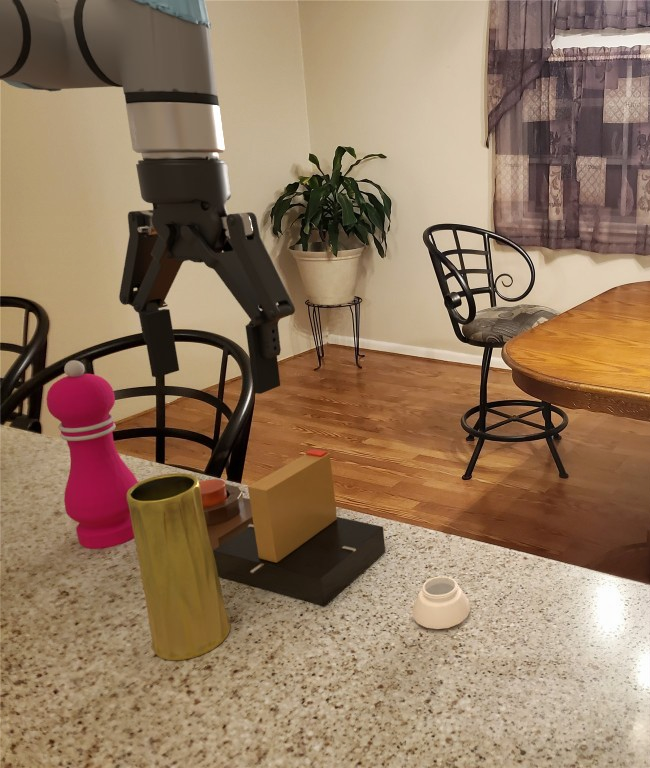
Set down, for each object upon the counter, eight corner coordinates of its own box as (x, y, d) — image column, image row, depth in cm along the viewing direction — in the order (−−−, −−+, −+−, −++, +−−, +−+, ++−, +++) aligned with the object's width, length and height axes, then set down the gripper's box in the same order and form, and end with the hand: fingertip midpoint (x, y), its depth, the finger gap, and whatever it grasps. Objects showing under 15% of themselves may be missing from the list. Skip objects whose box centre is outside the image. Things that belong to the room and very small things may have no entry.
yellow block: (276, 563, 64) (265, 488, 62) (258, 558, 65) (247, 484, 62) (337, 519, 72) (329, 450, 69) (320, 515, 73) (312, 447, 70)
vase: (181, 672, 55) (148, 512, 50) (137, 646, 58) (103, 493, 53) (245, 629, 60) (220, 480, 55) (202, 607, 63) (175, 464, 58)
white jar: (427, 640, 58) (479, 619, 60) (425, 610, 57) (478, 591, 59) (404, 609, 62) (454, 591, 64) (402, 581, 61) (452, 564, 63)
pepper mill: (58, 544, 74) (13, 367, 68) (117, 514, 80) (80, 349, 74) (106, 557, 71) (63, 373, 65) (163, 524, 78) (128, 354, 72)
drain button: (184, 505, 74) (181, 490, 74) (210, 491, 78) (208, 476, 77) (209, 510, 73) (206, 495, 72) (234, 496, 76) (232, 481, 76)
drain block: (152, 538, 75) (145, 505, 74) (209, 506, 82) (204, 475, 81) (221, 556, 71) (215, 522, 70) (275, 521, 78) (270, 489, 77)
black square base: (313, 617, 61) (309, 587, 60) (203, 586, 66) (198, 557, 65) (394, 544, 72) (392, 518, 71) (295, 522, 78) (292, 497, 77)
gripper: (319, 155, 60) (340, 385, 67) (123, 158, 70) (158, 358, 76) (257, 154, 54) (286, 409, 60) (50, 158, 63) (95, 377, 70)
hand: (214, 381), depth 68 cm, fingers open, 13 cm apart
